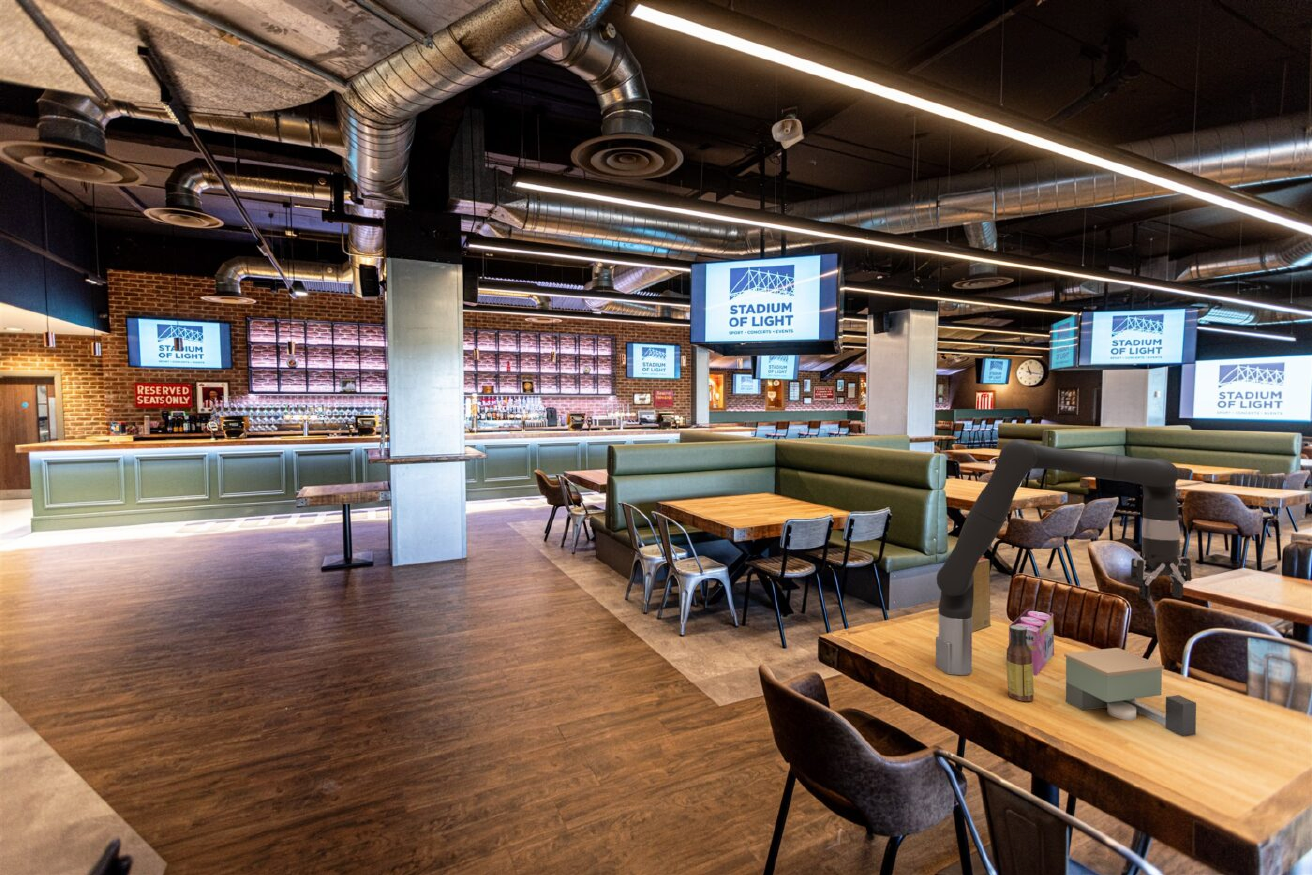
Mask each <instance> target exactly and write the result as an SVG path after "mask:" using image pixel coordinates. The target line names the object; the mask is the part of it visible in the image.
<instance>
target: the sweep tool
mask: <svg viewBox="0 0 1312 875" xmlns="http://www.w3.org/2000/svg"><path fill="white" fill-rule="evenodd" d="M1126 703H1128V704H1131V705H1133V706H1134V707H1135V708H1136V713H1137V714H1139V715H1141V716H1143V717H1146V718H1148V719H1150V720H1153V721H1155V722H1156V723H1158V724H1160V725H1163V726H1164V727H1165V729H1166V730H1168V731H1170V732H1172V733H1174V734H1177V735H1178V736H1181V737H1182V738H1183V737H1189V736H1195V735H1196V733H1197V731H1196V729H1197V727H1196V726H1197V725H1196V724H1197V722H1196V721H1197V702H1196V701H1193V700H1191V699H1189V698H1186V697H1185V696H1181V695H1179V694H1178V695H1169V696H1165V713H1164V712H1161V711H1159V710H1157V709H1155V708H1153V707H1150V706H1149V705H1146V704H1144V703H1142V702H1141V701H1137V700H1136V699H1135V700H1134V699H1129V700H1126Z"/></svg>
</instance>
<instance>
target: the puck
mask: <svg viewBox="0 0 1312 875" xmlns="http://www.w3.org/2000/svg"><path fill="white" fill-rule="evenodd" d="M1106 708H1107V709H1106V713H1107V714H1108V715H1110V716H1111V717H1113V718H1117V719H1119V720H1124V721H1135V720H1137V712H1136V708H1135V707H1134V706H1133V705H1131V704H1128V703H1126V702H1122V701H1114V702H1107V707H1106Z"/></svg>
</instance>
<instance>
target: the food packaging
mask: <svg viewBox="0 0 1312 875" xmlns="http://www.w3.org/2000/svg"><path fill="white" fill-rule="evenodd" d="M990 566H991V560H990V559H988V558H983V557H981V558H980V559H979V561H978V563H977V565H976V567H975V569H974V572H973V578H974V596H973V608H972V633H974V632H977V631H980V630H983V629H986V628H988V627H991V576H990V575H991V573H990V572H991V570H990V569H991V567H990Z"/></svg>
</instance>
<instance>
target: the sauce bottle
mask: <svg viewBox="0 0 1312 875" xmlns="http://www.w3.org/2000/svg"><path fill="white" fill-rule="evenodd" d="M1009 626H1010V625H1009ZM1010 632H1011V642H1010V644H1009V643H1008V646H1007V648H1006V675H1007V677H1006V678H1007V692H1008V695H1009V696H1010V698H1012V699H1014V700H1017V701H1022V702H1031V701H1033V700H1034V693H1035V692H1034V690H1035V689H1034V685H1035V684H1034V675H1033V662H1032V652H1031V650H1030V648H1029V646H1028V645H1027V641H1026V634H1027V628H1026V627H1024V626H1020V625H1012V626H1010Z"/></svg>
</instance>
